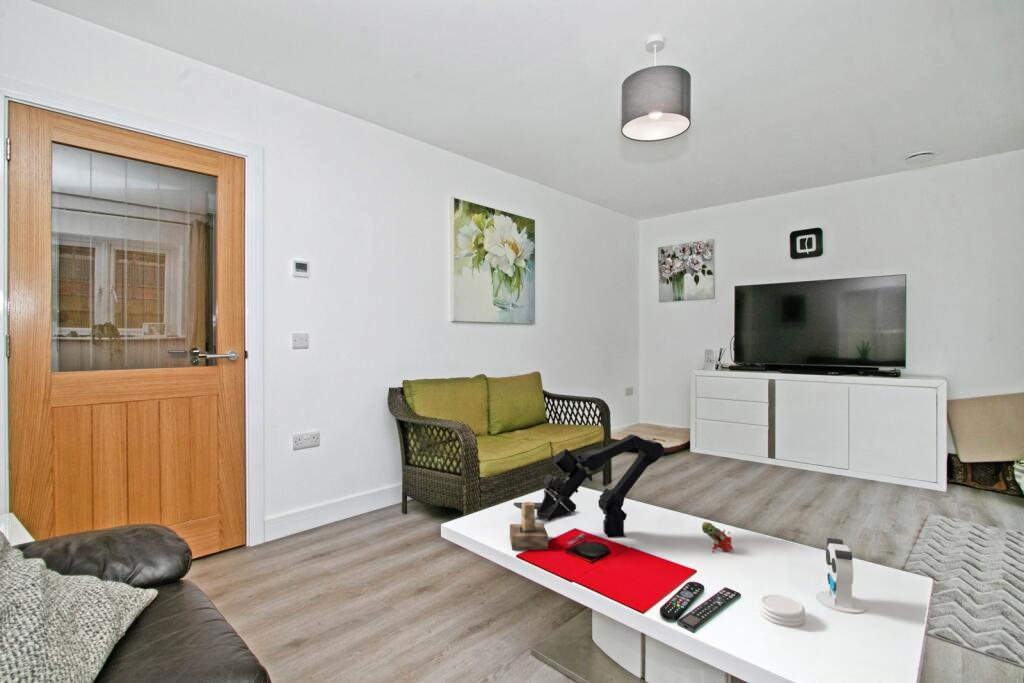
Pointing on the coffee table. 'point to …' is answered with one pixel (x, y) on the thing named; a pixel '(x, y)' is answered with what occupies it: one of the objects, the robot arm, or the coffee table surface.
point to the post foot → (528, 538)
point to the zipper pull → (544, 513)
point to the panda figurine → (840, 580)
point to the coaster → (782, 610)
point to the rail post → (528, 517)
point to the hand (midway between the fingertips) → (543, 515)
